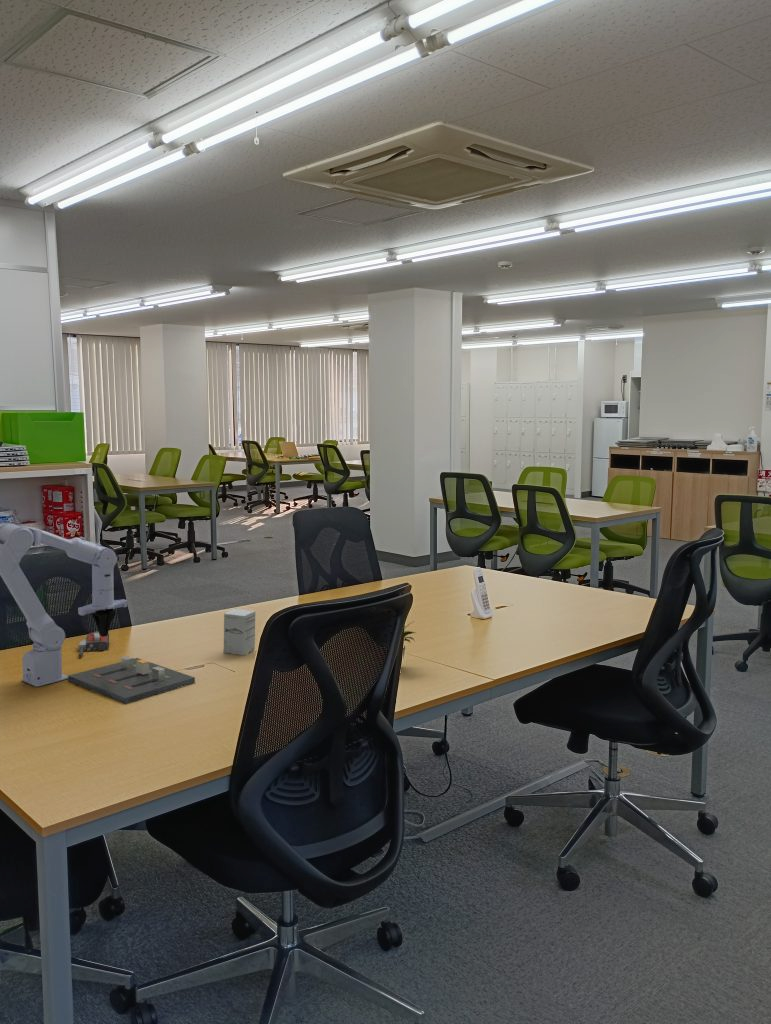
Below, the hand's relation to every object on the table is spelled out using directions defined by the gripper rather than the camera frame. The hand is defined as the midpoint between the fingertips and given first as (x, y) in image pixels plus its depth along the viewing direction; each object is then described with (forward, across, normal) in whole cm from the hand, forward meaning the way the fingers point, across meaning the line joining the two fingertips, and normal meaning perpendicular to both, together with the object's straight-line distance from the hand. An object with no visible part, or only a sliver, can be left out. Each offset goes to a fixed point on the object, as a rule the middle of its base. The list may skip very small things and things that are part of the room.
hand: (103, 635), depth 236 cm
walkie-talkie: (+10, +9, +18) cm, 23 cm away
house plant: (+10, +56, -60) cm, 83 cm away
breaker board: (+9, -2, -16) cm, 19 cm away
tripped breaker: (+8, +2, -16) cm, 18 cm away
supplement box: (+10, +37, -16) cm, 41 cm away
